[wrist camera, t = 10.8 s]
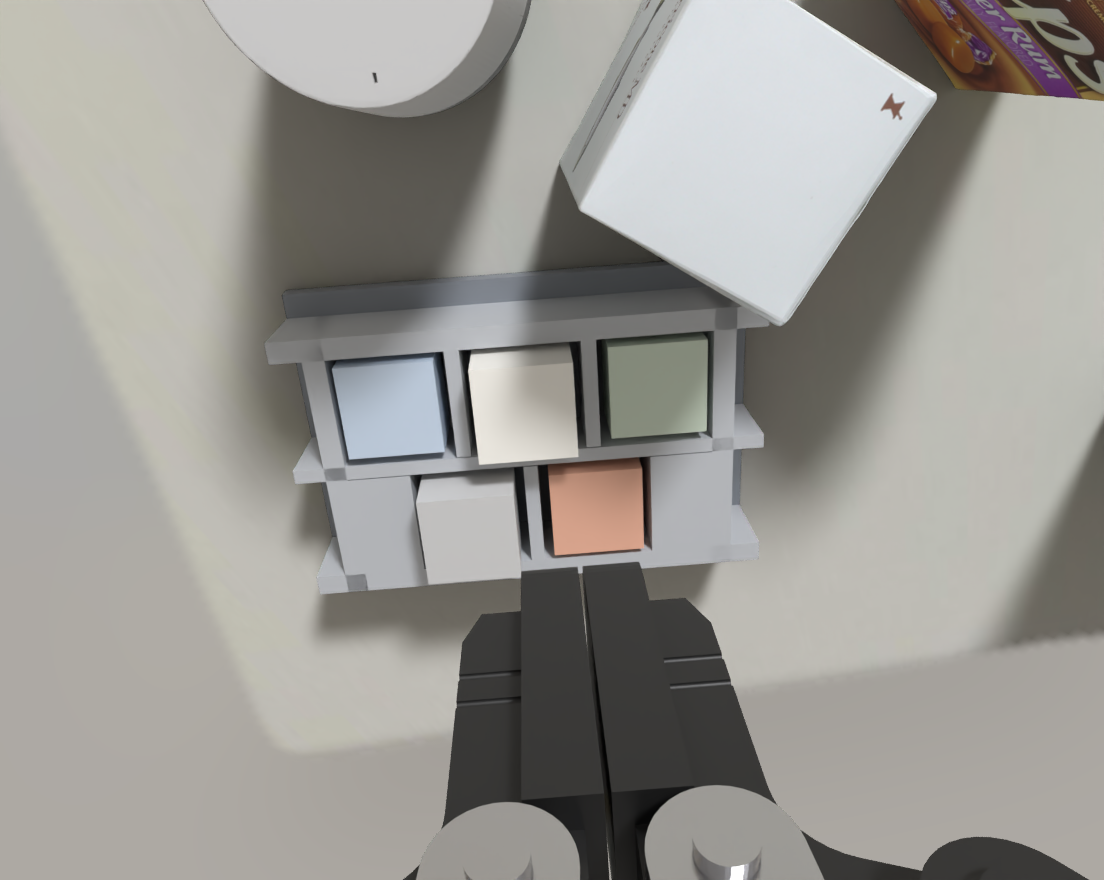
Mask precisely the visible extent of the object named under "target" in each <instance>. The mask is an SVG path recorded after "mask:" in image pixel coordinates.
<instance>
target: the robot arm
mask: <svg viewBox="0 0 1104 880" xmlns="http://www.w3.org/2000/svg"><path fill="white" fill-rule="evenodd" d="M582 571H583V589H584V604H585V619H586V633H585V625H584V616H583V608H582V599H581V590H580V582H579V573H578V567H566V568H554V569H541V570H529V571H521V611H519V612H506V613H494V614H482V615H481V617H480V618H479V620H478V621H477V622H476V624H475V625H474V627H473V628H472V630H471V631H470V633H469V634H468V635H467V637H466V638H465V640H464V641H463V643H462V652H461V662H460V672H459V677H460V681H459V682H458V692H457V708H456V711H455V721H454V731H453V741H452V751H451V762H450V770H449V780H448V790H447V800H446V809H445V816H444V822H443V826H442V829H441V830H440V832H438V834H436V836H435V837H434V838H433V840H432V841H431V842H430V844H429V845H428V847H427V849H426V851H425V853H424V855H423V857H422V860H421V863H420V865H419V866H418V867H417V868H416V869H415V870H414V871H413V872H412V873H411V874H409V875H408V876H407V877H406V878H405V879H403V880H609V868H608V852H609V861H610V870H611V878H612V880H1088V879H1087V878H1085V877H1083V876H1082V875H1080V874H1078V873H1077V872H1075V871H1073V870H1072V869H1070V868H1068V867H1067V866H1065V865H1063V864H1061V863H1060V862H1058V861H1056V860H1055V859H1053V858H1051V857H1049V856H1047V855H1045V854H1043V853H1041V852H1039V851H1037V850H1035V849H1032V848H1030V847H1027V846H1024V845H1022V844H1019V843H1015V842H1011V841H1008V840H1004V839H997V838H991V837H971V838H963V839H959V840H956V841H953V842H949V843H947V844H946V845H944V846H942V847H940V848H938V850H937V851H935V852H934V853H933V854H932V855H931V856H930V857H929V859H928V860H927V862H926V863H925V865H924V867H923V870H922V871H919V870H915V869H910V868H905V867H901V866H896V865H891V864H886V863H882V862H877V861H872V860H868V859H863V858H859V857H855V856H851V855H848V854H844V853H841V852H839V851H837V850H834V849H832V848H829V847H827V846H825V845H824V844H822V843H820V842H818V841H816V840H814V839H813V838H811V837H810V836H808V835H807V834H806V833H804V832H803V831H801V830H800V828H799V827H798V826H797V824H796V823H795V822H794V821H793V819H792V818H791V817H790V816H789V815H788V814H787V813H786V812H785V811H784V810H782V809H781V808H780V807H779V806H778V805H777V804H776V802H775V801H774V799H773V797H772V795H771V793H770V791H769V788H768V786H767V783H766V780H765V777H764V774H763V772H762V768H761V766H760V763H759V760H758V757H757V754H756V751H755V748H754V745H753V743H752V740H751V737H750V734H749V731H748V728H747V725H746V722H745V719H744V717H743V714H742V711H741V708H740V705H739V702H738V699H737V696H736V693H735V691H734V688H733V686H731V680H730V676H729V673H728V670H727V668H726V665H725V662H724V659H722V653H721V650H720V647H719V645H718V642H717V639H716V636H715V633H714V630H713V627H712V624H711V622H710V621H709V620H708V619H707V618H706V617H704V616H703V615H702V614H701V613H700V612H699V611H698V610H697V609H696V608H695V607H694V606H693V605H692V604H691V603H690V602H689V601H688V600H687V599H686V598H679V599H666V600H654V601H649V598H648V594H647V590H646V586H645V581H644V577H643V573H642V569H641V566H640V563H639V562H626V563H614V564H601V565H589V566H582ZM586 635H587V642H586ZM587 650H588V651H587ZM607 843H608V850H607ZM607 851H608V852H607Z"/></svg>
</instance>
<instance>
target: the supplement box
mask: <svg viewBox="0 0 1104 880" xmlns="http://www.w3.org/2000/svg"><path fill="white" fill-rule="evenodd" d="M936 100H937V94H936V93H935V92H933V91H932V90H930V89H928V88H927V87H925V86H924V85H922V84H921V83H919V82H917V81H916V80H914V79H913V78H911V77H910V76H908V75H906V74H905V73H903V72H902V71H900V70H899V69H897V68H895V67H894V66H892V65H891V64H889V63H888V62H886V61H884V60H883V59H881V58H880V57H878V56H877V55H875V54H873V53H872V52H870V51H869V50H867V49H866V48H864V47H862V46H861V45H859V44H858V43H856V42H854V41H853V40H851V39H850V38H848V37H847V36H845V35H843V34H842V33H840V32H839V31H837V30H836V29H834V28H832V27H831V26H829V25H828V24H826V23H825V22H823V21H821V20H820V19H818V18H817V17H815V16H814V15H812V14H810V13H809V12H807V11H806V10H804V9H803V8H801V7H799V6H798V5H796V4H795V3H793V2H792V1H790V0H642V2H641V5H640V7H639V9H638V11H637V13H636V16H635V18H634V20H633V22H632V24H631V26H630V28H629V31H628V33H627V35H626V37H625V39H624V41H623V43H622V45H621V47H620V49H619V51H618V53H617V55H616V57H615V58H614V60H613V62H612V64H611V66H610V68H609V70H608V72H607V74H606V76H605V78H604V79H603V81H602V83H601V85H600V87H599V89H598V91H597V93H596V95H595V97H594V99H593V101H592V103H591V104H590V106H589V108H588V110H587V112H586V114H585V116H584V118H583V120H582V122H581V124H580V126H579V127H578V129H577V131H576V133H575V135H574V136H573V138H572V140H571V142H570V143H569V145H568V147H567V149H566V151H565V152H564V154H563V156H562V158H561V159H560V162H559V163H560V166H561V169H562V171H563V173H564V176H565V178H566V180H567V182H568V185H569V187H570V190H571V192H572V194H573V196H574V199H575V201H576V203H577V206H578V208H579V210H580V212H582V213H584V214H587V215H588V216H590V217H592V218H593V219H595V220H597V221H598V222H600V223H602V224H604V225H605V226H607V227H609V228H610V229H612V230H614V231H616V232H617V233H619V234H621V235H622V236H624V237H626V238H628V239H629V240H631V241H633V242H635V243H636V244H638V245H640V246H642V247H643V248H645V249H647V250H648V251H650V252H652V253H653V254H655V255H657V256H658V257H660V258H662V259H663V260H665V261H667V262H668V263H670V264H672V265H674V266H675V267H677V268H679V269H680V270H682V271H684V272H685V273H687V274H689V275H690V276H692V277H694V278H695V279H697V280H699V281H700V282H702V283H704V284H706V285H707V286H709V287H711V288H712V289H714V290H716V291H717V292H719V293H721V294H722V295H724V296H726V297H728V298H729V299H731V300H733V301H734V302H736V303H738V304H740V305H741V306H743V307H745V308H746V309H748V310H750V311H752V312H753V313H755V314H757V315H758V316H760V317H762V318H764V319H765V320H767V321H769V322H770V323H772V324H774V325H776V326H782V325H784V324H785V323H786V322H787V321H788V320H789V319H790V318H791V316H792V315H793V313H794V311H795V310H796V309H797V307H798V306H799V304H800V303H801V301H802V300H803V298H804V297H805V295H806V294H807V292H808V291H809V289H810V287H811V286H812V284H813V283H814V281H815V280H816V278H817V277H818V275H819V274H820V272H821V271H822V269H823V268H824V267H825V265H826V264H827V262H828V261H829V259H830V258H831V256H832V255H833V253H834V252H835V250H836V249H837V247H838V245H839V244H840V242H841V241H842V239H843V238H844V237H845V235H846V234H847V232H848V231H849V229H850V228H851V227H852V225H853V224H854V222H855V221H856V220H857V218H858V217H859V216H860V214H861V213H862V211H863V210H864V208H865V207H866V205H867V203H868V201H869V200H870V198H871V196H872V195H873V193H874V192H875V190H876V189H877V187H878V186H879V184H880V183H881V181H882V180H883V178H884V177H885V175H886V174H887V172H888V171H889V169H890V168H891V166H892V165H893V163H894V162H895V160H896V159H897V157H898V156H899V154H900V153H901V151H902V150H903V148H904V147H905V145H906V144H907V142H908V141H909V139H910V138H911V136H912V135H913V133H914V132H915V130H916V129H917V127H918V126H919V125H920V123H921V122H922V120H923V119H924V117H925V116H926V114H927V113H928V112H929V110H930V109H931V108H932V106H933V105H934V103H935V102H936Z"/></svg>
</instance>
